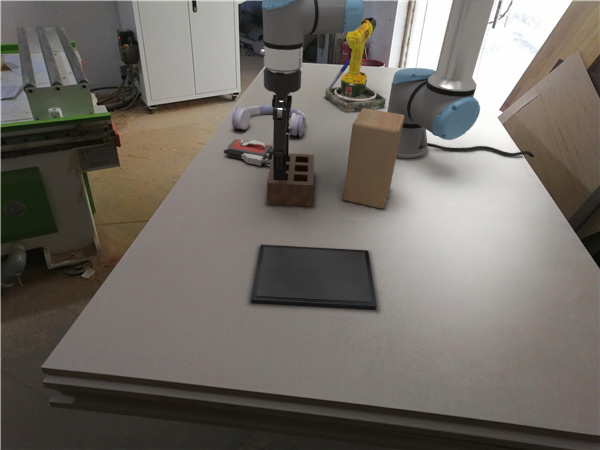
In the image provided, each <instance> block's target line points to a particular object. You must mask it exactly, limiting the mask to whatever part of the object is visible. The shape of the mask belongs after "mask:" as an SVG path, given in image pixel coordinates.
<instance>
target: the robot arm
mask: <svg viewBox="0 0 600 450" xmlns="http://www.w3.org/2000/svg"><path fill="white" fill-rule="evenodd" d="M261 3H262V4H261V8H262V31H263V48H262V49H260V54H261V55H263V66H264V67H265V68H264V69H263V88H264V89H265V90H266V91H268V92H272V93H274V94H273V95H272V99H271V105H272V107H273V114H272V120H273V134H272V135H273V136H272V137H273V138H272V149H273V152H272V151H270V154H273V180H285V181H286V161H288V153H289V143H290V135H289V133H292V129H289V128H290V119H291V116H290V112H291V108H292V104H293V95H290V94H291V93H296V92H298V91H300V89H301V87H302V70H301V68H302V67H303V55H304V53H303V50H304V45H303V44H304V36H310V35H327V34H328V35H332V34H340V35H343V34H348V32H353V31H355V30H357V29H358V28H359V26H360V25H361V22H362V20H364V14H365V13H364V12H365V5H364V0H262V2H261ZM494 3H495V0H452V2H451V6H450V10H449V14H448V19H447V23H446V27H445V31H444V35H443V40H442V44H441V49H440V53H439V57H438V61H437V65H436V70H435V69H432V68H431V69H430V68H426V67H424V68H423V67H408V68H407V67H405V68H401V69H398V70H397V71H396V72H394V73H393V74H394V75H393V78H392V82H391V88H390V93H389V99H388V105H387V111H386V112H390V113H396V114H402V115H404V116H405V118H404V123H403V128H402V132H401V137H400V142H399V147H398V152H397V157H396V159H402V160H403V159H405V160H412V159H418V158H421V157H423V156H424V155H425V154H426V153H427V150H428V147H430V148H435V149H439V150H442V151H449V152H469V151H475V150H487V151H492V152H494V153H497V154H500V155H503V156H508V157H518V156H522V155H528V156H529V157H530V158H535V155H534V153H533V152H531V151H529V150H523V151H518V152H517V151H516V152H508V151H504V150H500V149H498V148H496V147H492V146H486V145H475V146H470V147H468V146H467V147H450V146H442V145H439V144H435V143H431V142H430V143H429V142H428V136H427V131H428V132H430V133H431V134H432V135H433V136H434V137H439V138H440V139H442V140H444V141H453V140H456V139H458V138H460V137H462V136H463V135H465V134H466V133H467V132H468V131H470V129H471V128H472V127H473V126H474V125H475V123H476V122H477V120H478V118H479V116H480V112H481V105H480V103H479V101H478V99H476V98H475V97H474V96H475V94H476V89H477V85H478V84H477V82H476V81H475V79H474V77H473V76H474V74H475V69H476V66H477V62H478V59H479V55H480V53H481V49H482V45H483V41H484V38H485V35H486V33H487V32H486V31H487V27H488V24H489V21H490V17H491V14H492V10H493V7H494Z"/></svg>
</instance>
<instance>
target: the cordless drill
mask: <svg viewBox="0 0 600 450" xmlns="http://www.w3.org/2000/svg"><path fill="white" fill-rule="evenodd" d="M376 27H377V20H376V19H375V18H374V17H372V16H371V17H365V18H363V20H362V22H361V25H360V26H359V28H358V29H357V30H355V31H353V32H347V33H346V36H345V40H346V43H347V44H348V47H349V49H351V53H350V58H348V59H347V60H346V61H345V62H344V64H343V66H342V67H341V68H340V70H339V71H338V73H337V74H336V75H335V76H334V78H333V79H332V80H331V82H330V84H329V86H328V87H327V88H325V90H324V92H325V94H324V95H325V97H324V98H325V99H328V100H330V101H331V102H332V101H333V102H335V103H336V104H337V105H338V106H339V107H341V109H343V110H344V111H346V112H347V111H352V110H354V111H361V110H362V109H363V108H365V109H372V108H385V105H386V101H387V99H386V98H385V97H384V96H383V95H382V94H380V93H378V92H377V91H375V90H373V89H371V88H370V87H368V86H367V82H368V80H367V74H366V73H365V72H363V71H361V69H362V68H361V67H362V62H363V55H364V53H365V52H364V48H365V45H366V42H367V41H368V39H369V38H370V37H371V36H372V35H373V33H374V31H375V29H376ZM347 68H348V72H347V73H345V74H343V73H344V72H345V71H346V70H347ZM341 76H342V77H341ZM340 77H341V80H340V86H337V87H335V84H336V83H337V81H338V80H339V79H340ZM341 94H342V95H341ZM362 95H365V96H368V97H367V98H360V97H361V96H362Z"/></svg>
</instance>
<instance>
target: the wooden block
mask: <svg viewBox="0 0 600 450" xmlns="http://www.w3.org/2000/svg"><path fill="white" fill-rule="evenodd" d="M359 111H360V112H359V113H358V115H357V116H356V118H355V119H354V121H353V123H352V125H351V126H352V127H351V132H350V133H351V134H350V143H349V149H348V157H347V167H346V172H345V173H346V174H345V181H344V189H343V197H342V198H343V201H345V202H349V203H355V204H359V205H364V206H367V207H372V208H377V209H385V205H386V202H387V199H388V196H389V192H390V190H391V185H392V180H393V176H394V170H395V165H396V161H397V158H396V157H397V152H398V147H399V142H400V137H401V132H402V128H403V123H404V118H405V116H404V115H402V114H396V113H390V112H387V111H383V110H376V109H372V108H369V109H365V108H363V109H362V110H359Z"/></svg>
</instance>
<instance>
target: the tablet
mask: <svg viewBox="0 0 600 450" xmlns="http://www.w3.org/2000/svg"><path fill="white" fill-rule="evenodd" d="M370 260H371V259H370V254H369V250H367V249H352V248H351V249H350V248H348V249H347V248H334V247H333V248H331V247H312V246H294V245H275V244H260V247H259V252H258V259H257V262H256V263H257V264H256V270H255V275H254V280H253V287H252V292H251V297H250V298H251V299H250V303H252V304H253V303H254V304H271V305H290V306H291V305H292V306H308V307H325V308H326V307H327V308H341V309H342V308H345V309H362V310H363V309H365V310H377V300H376V299H377V298H376V293H375V287H374V279H373V274H372V273H373V272H372V267H371V261H370Z"/></svg>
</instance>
